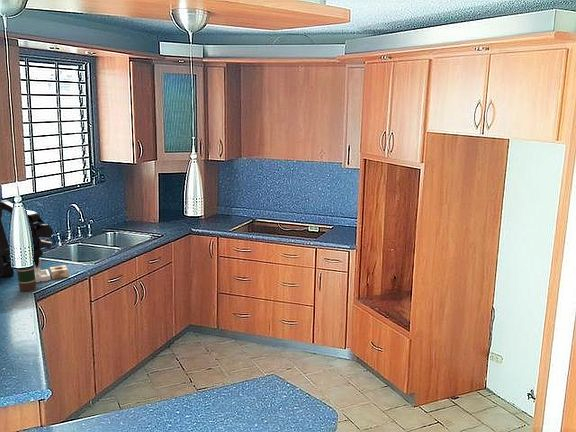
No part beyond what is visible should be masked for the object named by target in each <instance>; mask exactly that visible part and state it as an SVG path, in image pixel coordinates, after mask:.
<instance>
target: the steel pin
mask: <svg viewBox="0 0 576 432" xmlns="http://www.w3.org/2000/svg"><path fill="white" fill-rule="evenodd" d="M41 266H42V259H40V258H39V265H38V266H37V267H36V266H35V264H34V271H35V277H41V270H42V269H41Z"/></svg>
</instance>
